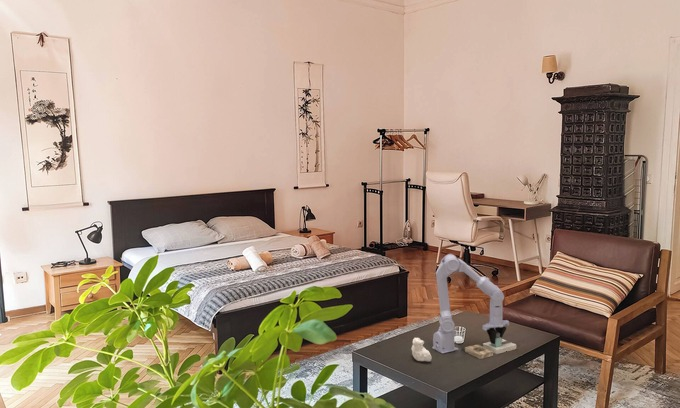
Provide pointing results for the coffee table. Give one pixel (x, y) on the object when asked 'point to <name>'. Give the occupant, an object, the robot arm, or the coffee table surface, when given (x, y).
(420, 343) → the white animal figurine
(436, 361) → the coffee table surface
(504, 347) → the port housing
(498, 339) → the plug
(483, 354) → the holster
